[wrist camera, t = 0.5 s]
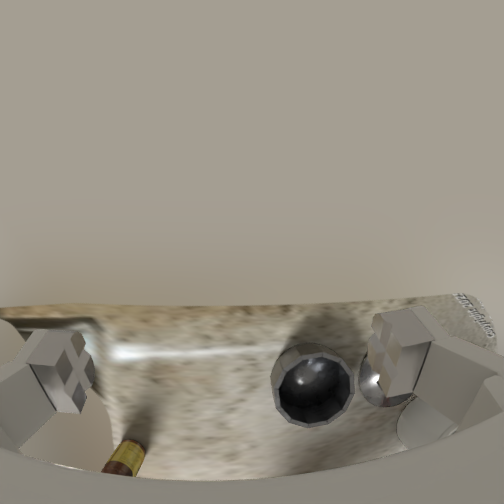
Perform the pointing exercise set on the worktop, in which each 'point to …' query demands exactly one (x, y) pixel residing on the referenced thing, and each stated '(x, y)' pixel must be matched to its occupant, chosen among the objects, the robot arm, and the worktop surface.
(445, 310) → the worktop surface
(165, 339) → the worktop surface
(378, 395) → the lid
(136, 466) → the sauce bottle
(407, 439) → the utensil holder
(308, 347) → the pot
